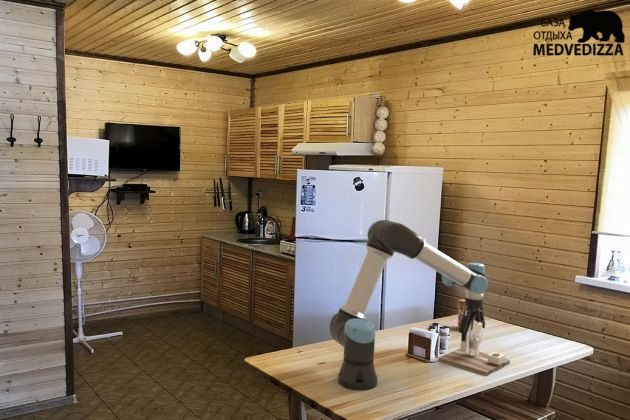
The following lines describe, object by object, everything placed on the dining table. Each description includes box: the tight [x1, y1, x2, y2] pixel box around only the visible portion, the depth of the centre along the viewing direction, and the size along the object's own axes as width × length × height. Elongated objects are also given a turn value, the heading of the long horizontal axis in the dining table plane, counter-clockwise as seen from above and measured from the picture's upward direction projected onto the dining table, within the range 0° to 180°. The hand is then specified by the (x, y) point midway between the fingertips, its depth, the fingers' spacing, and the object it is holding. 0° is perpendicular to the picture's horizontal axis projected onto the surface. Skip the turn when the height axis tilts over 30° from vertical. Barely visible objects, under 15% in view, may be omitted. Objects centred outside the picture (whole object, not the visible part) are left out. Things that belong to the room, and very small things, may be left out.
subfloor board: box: [437, 347, 511, 377], centre depth 232 cm, size 22×22×2 cm
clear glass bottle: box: [465, 320, 483, 357], centre depth 237 cm, size 7×7×15 cm
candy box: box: [457, 298, 475, 329], centre depth 282 cm, size 9×4×15 cm, turn 36°
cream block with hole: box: [487, 351, 506, 365], centre depth 228 cm, size 6×5×3 cm
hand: (471, 345), depth 236 cm, fingers open, 13 cm apart
